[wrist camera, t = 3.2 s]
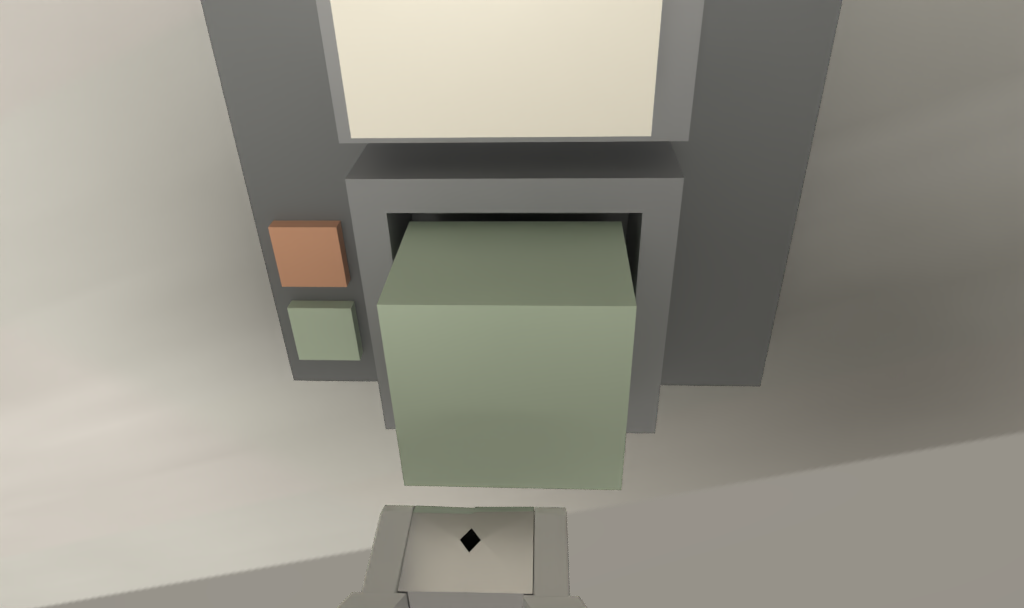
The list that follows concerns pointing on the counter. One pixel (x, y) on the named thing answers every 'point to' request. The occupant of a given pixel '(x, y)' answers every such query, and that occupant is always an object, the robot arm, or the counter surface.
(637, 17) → the key cream
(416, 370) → the key sage
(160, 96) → the counter surface
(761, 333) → the keypad base
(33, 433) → the counter surface
